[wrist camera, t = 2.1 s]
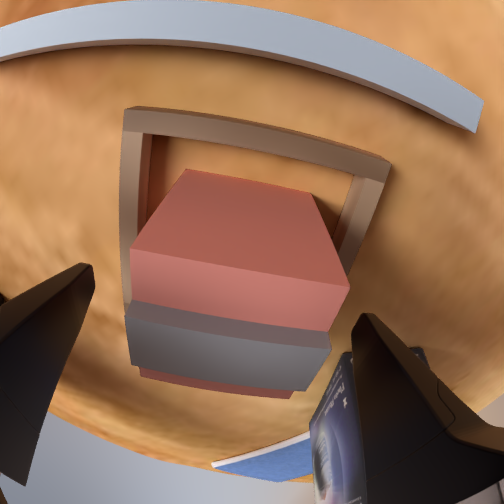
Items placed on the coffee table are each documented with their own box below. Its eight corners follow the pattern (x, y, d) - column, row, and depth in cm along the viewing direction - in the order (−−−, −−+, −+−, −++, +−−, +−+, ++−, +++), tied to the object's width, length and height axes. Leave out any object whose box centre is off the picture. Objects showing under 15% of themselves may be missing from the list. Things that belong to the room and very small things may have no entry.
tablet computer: (346, 407, 22) (348, 420, 21) (401, 431, 26) (403, 440, 25) (208, 458, 29) (207, 467, 28) (278, 475, 34) (279, 483, 33)
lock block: (280, 289, 14) (290, 413, 9) (175, 271, 14) (136, 390, 8) (310, 192, 12) (357, 304, 6) (186, 168, 11) (119, 263, 6)
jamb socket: (309, 329, 16) (312, 345, 15) (132, 298, 15) (124, 313, 14) (379, 155, 11) (391, 163, 10) (137, 106, 10) (124, 109, 9)
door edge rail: (447, 123, 10) (475, 133, 8) (-15, 65, 8) (-42, 70, 6) (455, 94, 9) (483, 100, 7) (-11, 40, 7) (-37, 43, 5)
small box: (335, 349, 17) (365, 519, 8) (424, 343, 17) (475, 481, 8) (304, 423, 22) (311, 534, 13) (372, 417, 22) (392, 518, 13)
